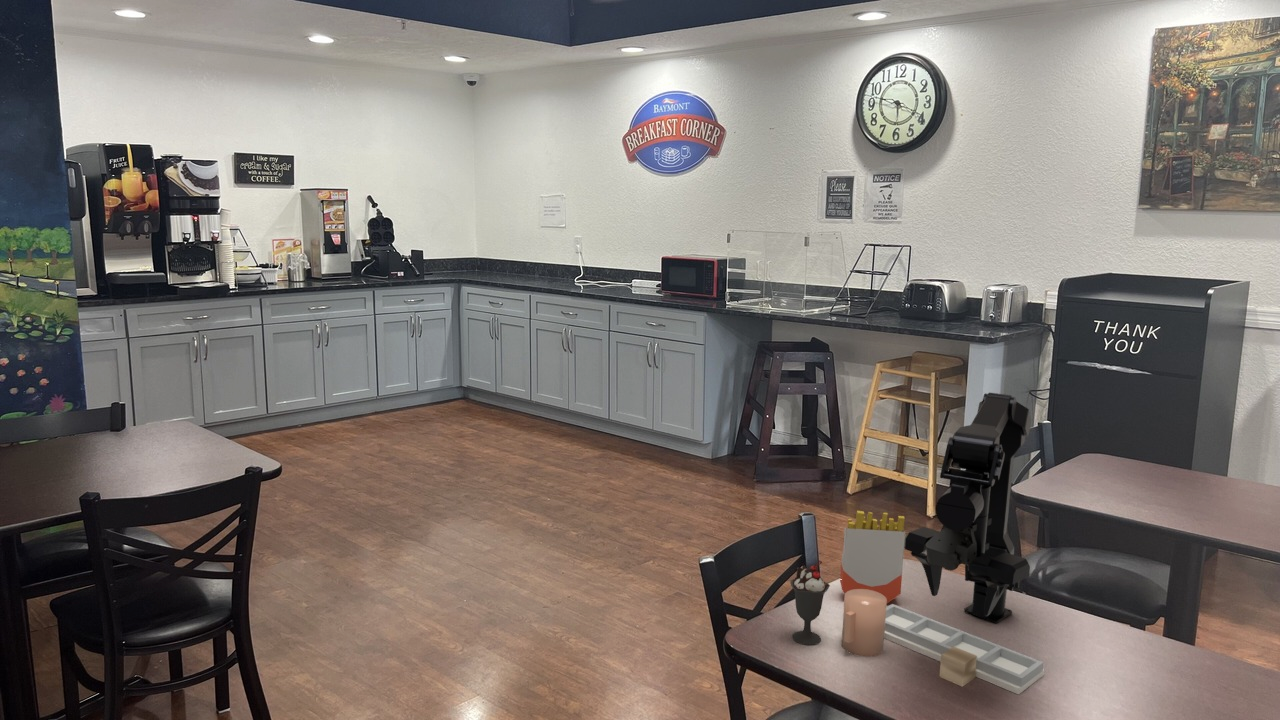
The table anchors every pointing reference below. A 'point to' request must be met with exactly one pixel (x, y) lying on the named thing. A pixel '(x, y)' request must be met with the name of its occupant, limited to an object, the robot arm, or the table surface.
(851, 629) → the terracotta mug
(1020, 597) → the table surface
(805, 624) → the sundae
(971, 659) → the beech block
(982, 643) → the board
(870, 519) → the french fries container
